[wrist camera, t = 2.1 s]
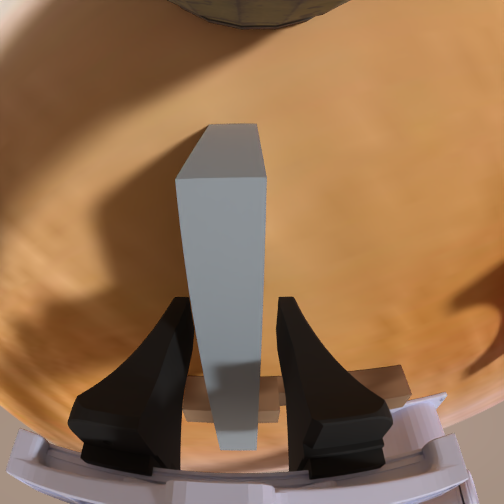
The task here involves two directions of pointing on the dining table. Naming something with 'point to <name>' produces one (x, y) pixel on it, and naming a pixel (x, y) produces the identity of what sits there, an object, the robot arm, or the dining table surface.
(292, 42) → the dining table surface
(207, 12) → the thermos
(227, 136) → the slate plate
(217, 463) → the dining table surface
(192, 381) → the walnut rail
